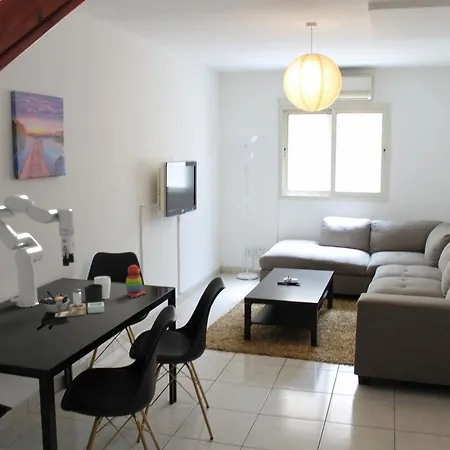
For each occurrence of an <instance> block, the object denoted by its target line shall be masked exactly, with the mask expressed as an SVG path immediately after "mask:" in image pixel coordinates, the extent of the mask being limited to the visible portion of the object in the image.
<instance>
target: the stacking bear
mask: <svg viewBox="0 0 450 450" xmlns="http://www.w3.org/2000/svg"><path fill="white" fill-rule="evenodd" d="M127 273H128V275H127V277H126V279H125V280H126V281H125V288H126V294H127V295H128V296H133V297H137V296H139V295H141V294H144V293H146V294H147V292H146V291H144V290H142V289H143V281H142V278H141V275H140V274H141V269H140V267H139V266H138V265H136V264H132V265H130V266H128V268H127ZM128 296H127V297H128Z"/></svg>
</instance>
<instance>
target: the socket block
mask: <svg viewBox="0 0 450 450" xmlns="http://www.w3.org/2000/svg"><path fill="white" fill-rule="evenodd" d="M61 308H62V307H60V305H58V307H57V312H58V313H56V312H55V315H54V317H55V318H62V317H73V316H85V315H87V304H86V302H85V303H82V307H74V305H73V303H72V304H69V308H68V311H61Z"/></svg>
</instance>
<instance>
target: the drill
mask: <svg viewBox="0 0 450 450" xmlns="http://www.w3.org/2000/svg"><path fill="white" fill-rule="evenodd" d="M72 300H73V301H72V304H73V305H74V307H82V304H83V303H82V289H81V288H74V289H72Z"/></svg>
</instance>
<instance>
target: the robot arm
mask: <svg viewBox="0 0 450 450" xmlns="http://www.w3.org/2000/svg"><path fill="white" fill-rule="evenodd" d="M18 214H22V215H24V216H27V217H28V218H29V219H30V220H31V221H34V222H37V223H40V224H45V225H47V224H53V223H58V234H59V236H60V248H61V250H60V251H61V256H62V257H61V258H62V266H63V267H69V266H70V264H72V263H75V255H74V253H75V251H76V246H75V237H74V235H75V229H74V227H75V226H74V212H73V209H72V208H57V207H53V208H47V209H46V208H44V209H43V208H41V207H38V206H37V204H36V202H35V201H34V200H32V199H30V198H29V197H28V196H27V195H26V194H22V193H19V194H18V193H16V194H15V193H14V194H9V195H7V196H6V197H4V200H3V203H0V242H1V243H2V244H3V246H5V247H6V249H8V250H10V251H15V253H14V256H13V257H14V259H13V260H14V263H15V267H16V275H17V289H18V292H17V293H18V296H17V297H16V298H15V297H12V298H10V299H9V300H10V302H11V303H16V304H15V306H16V305H17V306H16V307H18V306H19V307H18V308H31V306H32V307H36V305H37V306H39V305H40V304H39V302H38V300H39V299H38V288H37V271H36V268H35V266H34V264H35V263H39V262H41V261H42V260H43V259H44V256H45V252H44V249H43V247H42V246H41V244H39V243H38V242H37V240H35V239H34V237H33V236H32V235H31V234H30V233H28V232H27V231H22V230H21V231H15V230H14V229H13V228H12V227H11V226H10V225H9V224H8V223H6V222H5V221H3V220H7V219H11V218H13V217H14V216H15V217H16V215H18ZM38 304H39V305H38Z"/></svg>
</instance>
